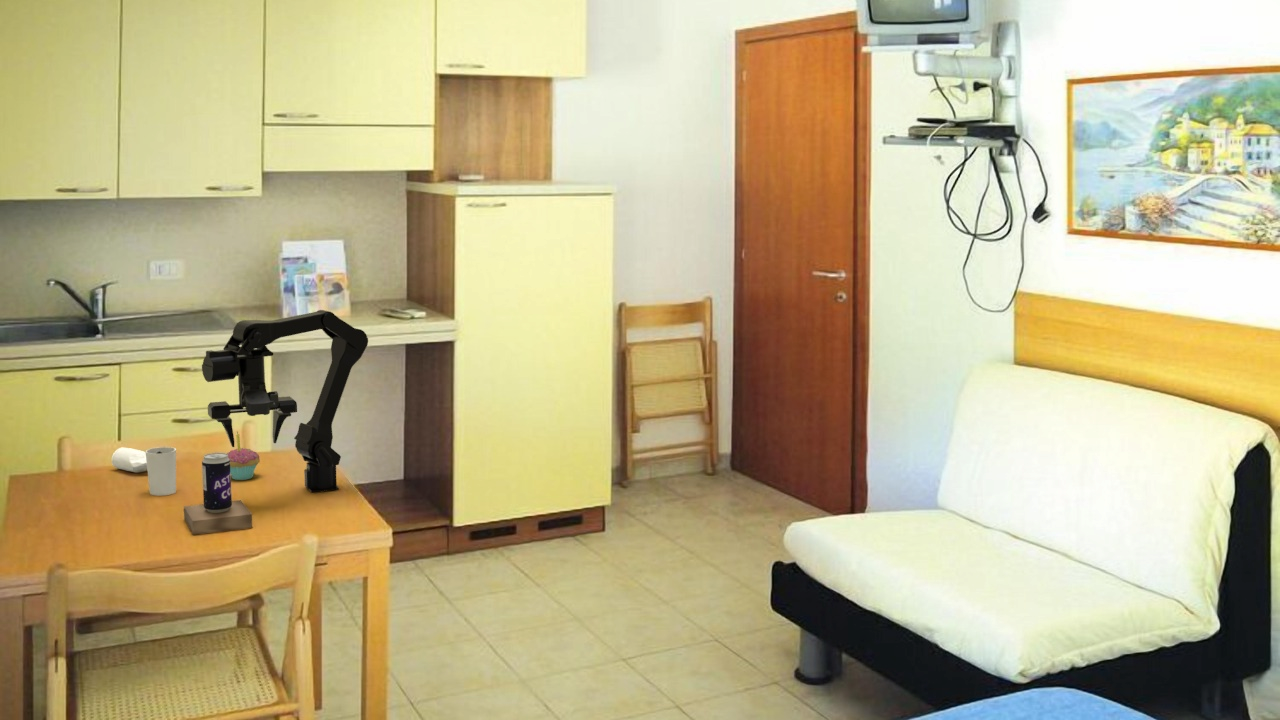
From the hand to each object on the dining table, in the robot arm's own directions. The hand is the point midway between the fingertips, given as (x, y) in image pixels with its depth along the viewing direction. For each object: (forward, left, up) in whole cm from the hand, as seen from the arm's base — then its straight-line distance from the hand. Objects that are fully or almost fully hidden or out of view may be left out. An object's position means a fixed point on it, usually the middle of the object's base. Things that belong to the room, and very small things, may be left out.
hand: (254, 444), depth 299 cm
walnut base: (+11, +15, -13) cm, 23 cm away
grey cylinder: (+18, -16, -13) cm, 28 cm away
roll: (+21, -38, -13) cm, 45 cm away
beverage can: (+11, +15, -10) cm, 21 cm away
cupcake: (-1, -22, -13) cm, 26 cm away
